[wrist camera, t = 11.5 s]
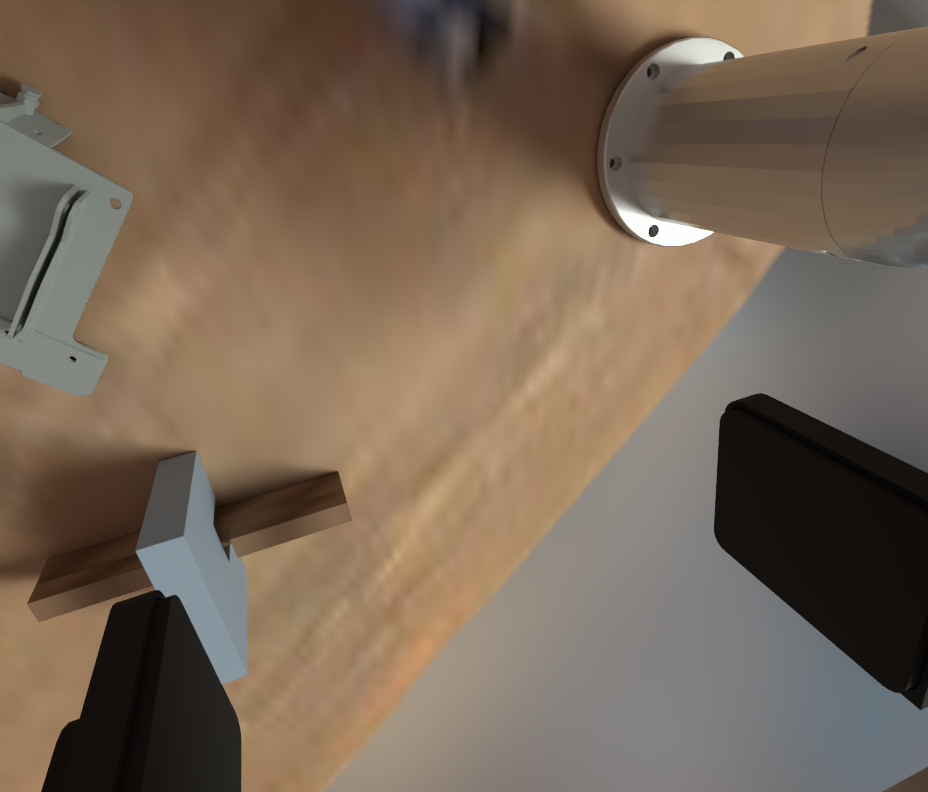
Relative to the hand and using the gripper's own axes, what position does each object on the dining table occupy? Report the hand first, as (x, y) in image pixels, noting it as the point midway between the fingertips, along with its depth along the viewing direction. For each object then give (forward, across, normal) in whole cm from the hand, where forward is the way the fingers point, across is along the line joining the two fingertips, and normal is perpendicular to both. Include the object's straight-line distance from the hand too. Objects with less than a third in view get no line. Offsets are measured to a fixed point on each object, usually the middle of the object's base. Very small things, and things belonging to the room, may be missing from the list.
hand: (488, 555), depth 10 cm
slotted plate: (+28, +11, +15) cm, 34 cm away
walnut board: (+28, +11, +15) cm, 34 cm away
